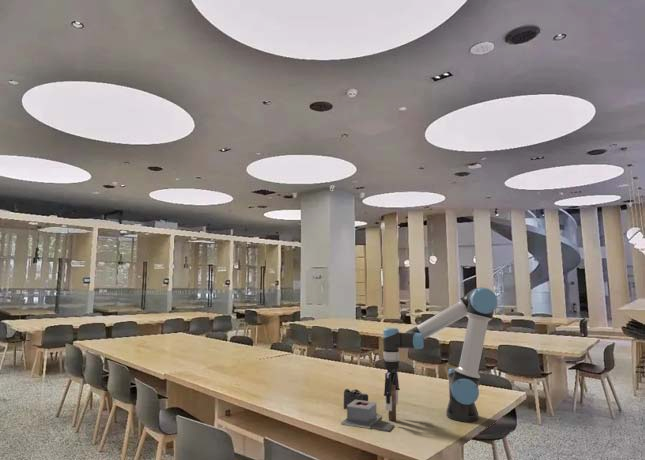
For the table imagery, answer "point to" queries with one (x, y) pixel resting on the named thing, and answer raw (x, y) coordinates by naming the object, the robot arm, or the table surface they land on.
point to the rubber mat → (383, 427)
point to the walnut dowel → (393, 405)
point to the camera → (353, 396)
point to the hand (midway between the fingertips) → (392, 407)
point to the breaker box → (361, 414)
